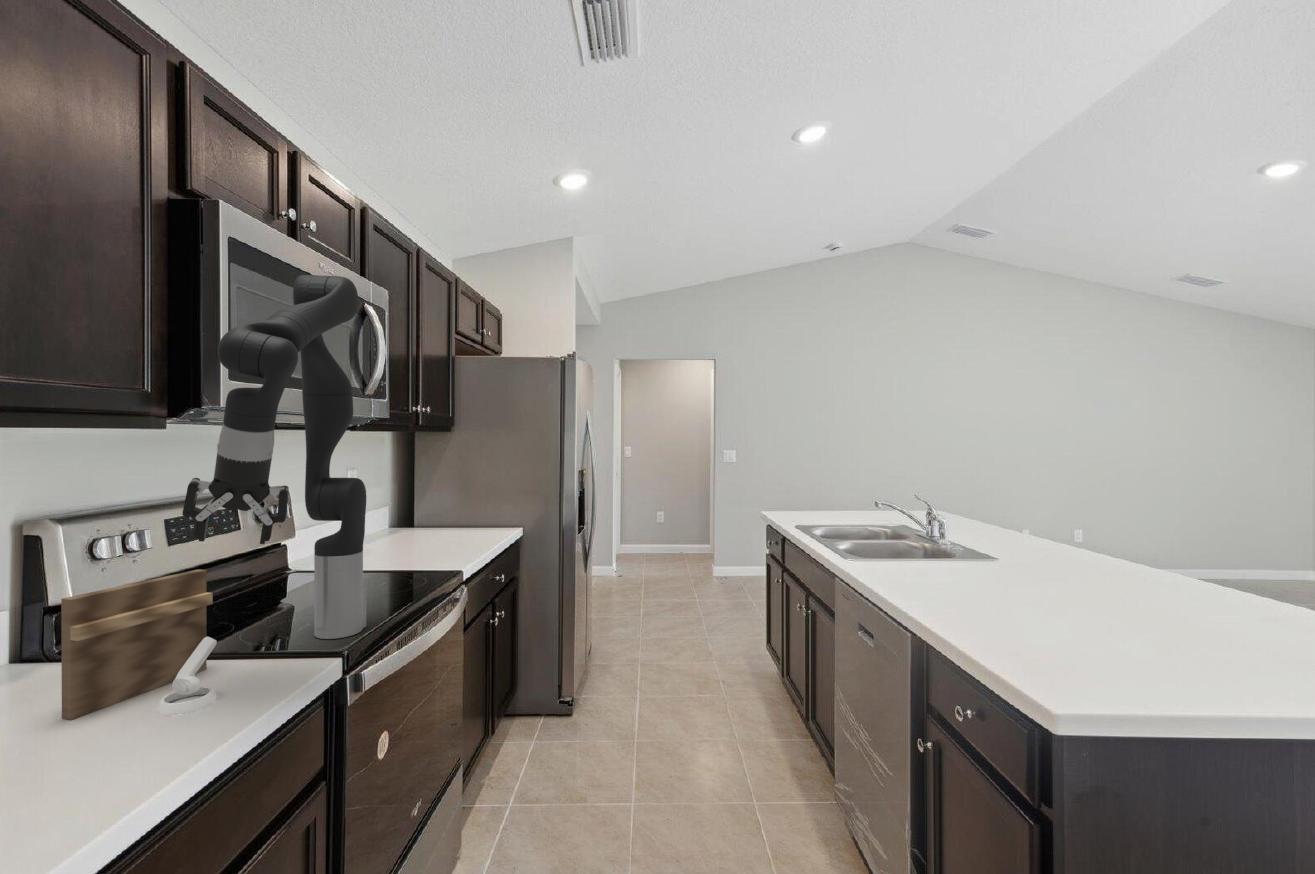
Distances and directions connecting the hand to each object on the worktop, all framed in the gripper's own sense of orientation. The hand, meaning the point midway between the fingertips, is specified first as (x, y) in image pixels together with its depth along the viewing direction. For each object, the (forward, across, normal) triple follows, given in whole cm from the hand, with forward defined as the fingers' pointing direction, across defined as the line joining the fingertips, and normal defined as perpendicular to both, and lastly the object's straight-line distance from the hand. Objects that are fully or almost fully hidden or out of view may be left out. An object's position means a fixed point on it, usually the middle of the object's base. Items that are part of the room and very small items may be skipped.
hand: (232, 540), depth 102 cm
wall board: (+26, +9, +4) cm, 28 cm away
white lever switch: (+23, +2, +13) cm, 26 cm away
